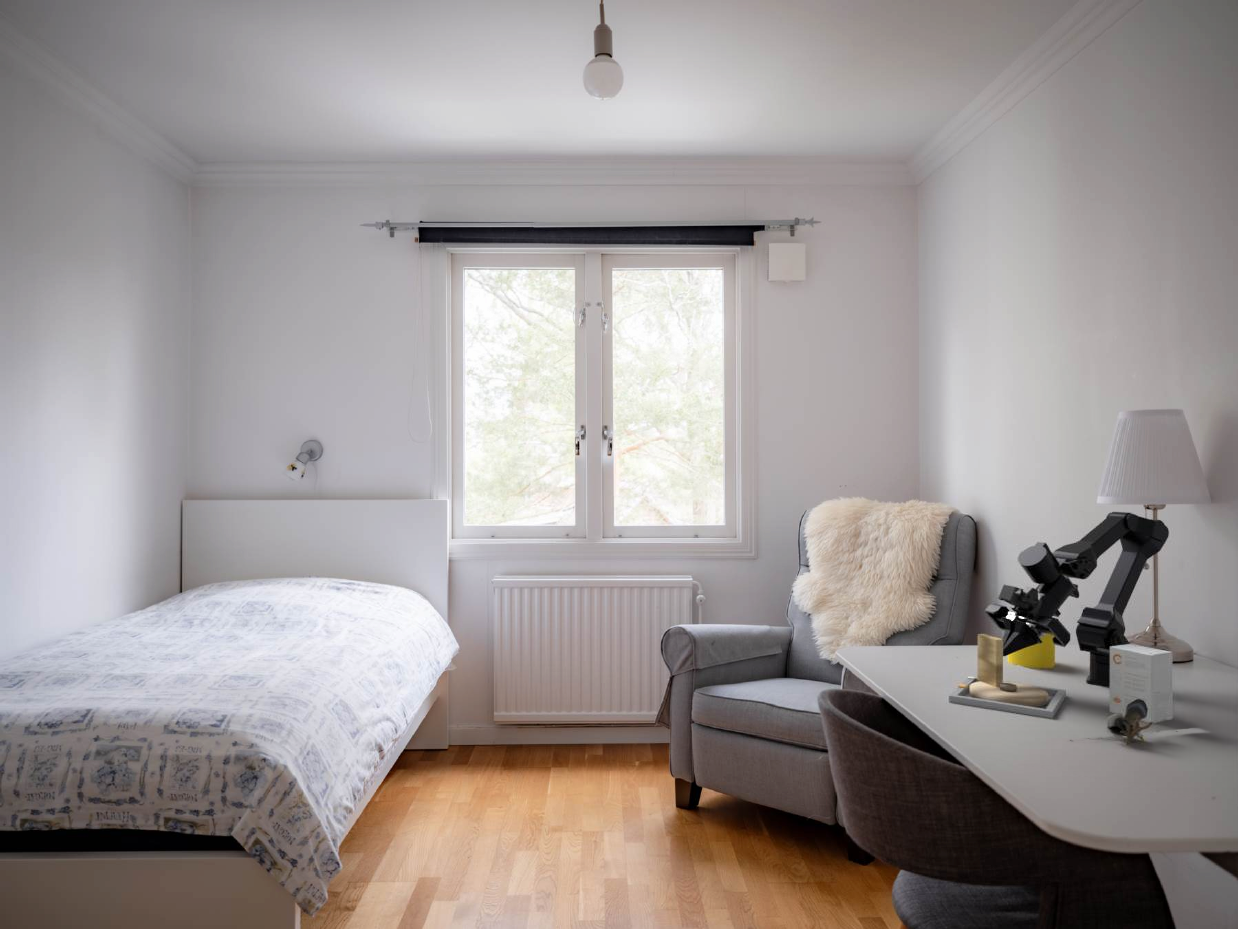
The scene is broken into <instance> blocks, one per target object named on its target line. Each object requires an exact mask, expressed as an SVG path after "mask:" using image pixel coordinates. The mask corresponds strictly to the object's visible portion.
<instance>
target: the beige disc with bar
mask: <svg viewBox="0 0 1238 929" xmlns="http://www.w3.org/2000/svg"><path fill="white" fill-rule="evenodd" d="M976 672H977V680H979V682H975V683H972V684H971V685H970V696H971V697H972V698H978V699H984V700H991V701H997V702H1004V703H1010V704H1017V705H1023V706H1029V707H1036V708H1040V707H1044V706H1046V705H1047V704H1048V693H1047V692H1046V691H1044V690H1042V689H1040V688H1037V687H1034V686H1035V685H1034V686H1031V685H1032V684H1028V683H1027V684H1026V683H1021V682H1015V681H1014V682H1013V681H1005V680H1004V673H1003V672H1004V656H1003V638H1000V637H997V636H996V637H995V636H994V635H989V634H986V633H980V634H979V633H978V634H977V671H976Z"/></svg>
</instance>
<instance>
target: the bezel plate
mask: <svg viewBox="0 0 1238 929" xmlns="http://www.w3.org/2000/svg"><path fill="white" fill-rule="evenodd" d="M975 682H979V680H977V677H975V676H967V679H966V680H965V681H964V682H963V683H959V684H958V685H957V688H956V689H955V690H953V691H952V692H951V693H950V694H949V695H948V703H952V704H953V703H954V704H958V705H959V704H960V705H966V706H971V707H977V708H983V709H989V710H997V711H1002V712H1008V713H1009V712H1010V713H1013V714H1014V713H1016V714H1021V715H1027V716H1034V717H1040V718H1044V719H1045V718H1047V719H1050V720H1051V719H1053V718H1054V717H1055V715H1056V713H1057V712H1058V710H1059V709H1060V706H1061V705H1062V703H1063V702H1064V700H1065V699H1066V697H1067V691H1066V689H1061V688H1056V687H1055V688H1054V687H1047V686H1042V685H1041V686H1040V685H1034V684H1033V685H1032V684H1030V685H1031V686H1034V687H1037V688H1040V689H1042V690H1044V691H1046V692H1047V693H1048V704H1047V705H1046V706H1044V707H1040V708H1036V707H1029V706H1023V705H1017V704H1010V703H1004V702H997V701H991V700H984V699H978V698H972V697H971V696H970V685H971V684H972V683H975Z"/></svg>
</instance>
